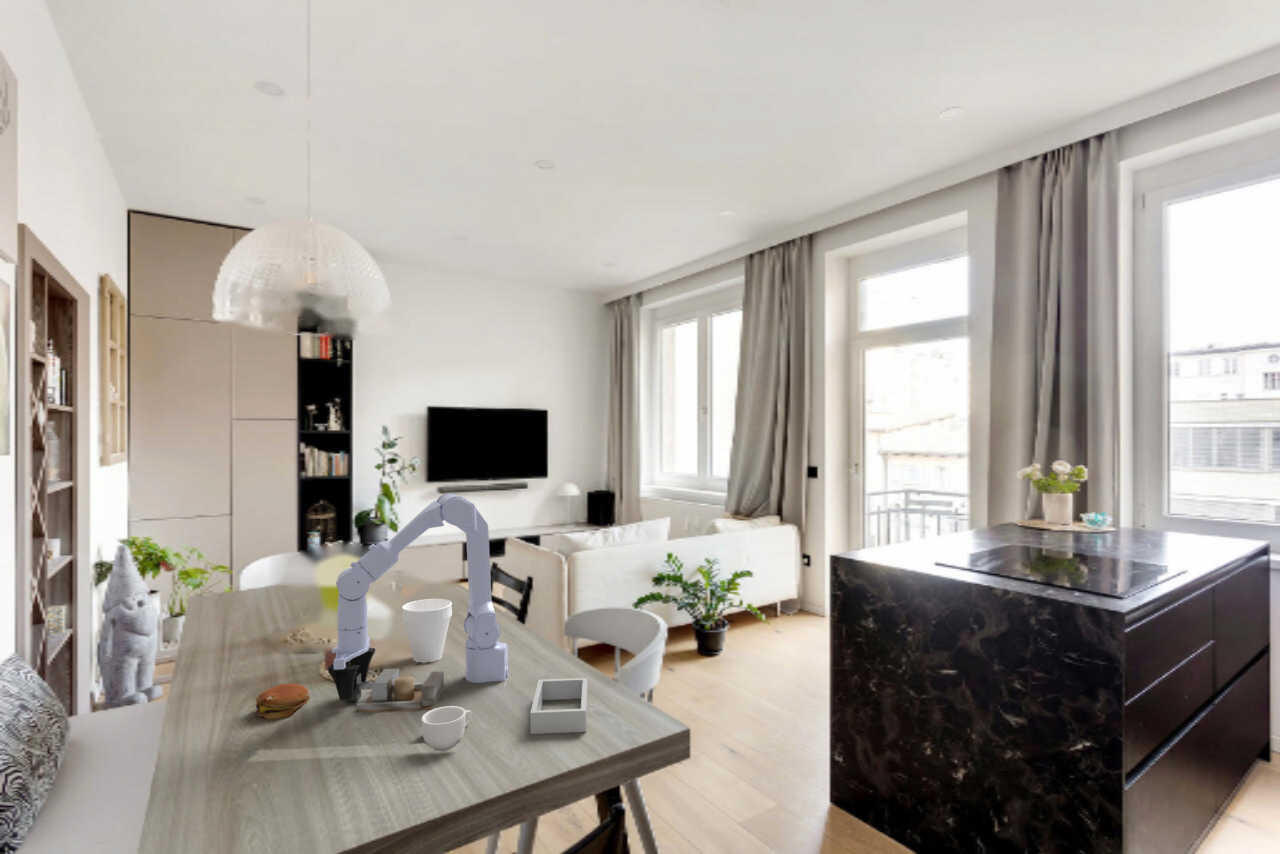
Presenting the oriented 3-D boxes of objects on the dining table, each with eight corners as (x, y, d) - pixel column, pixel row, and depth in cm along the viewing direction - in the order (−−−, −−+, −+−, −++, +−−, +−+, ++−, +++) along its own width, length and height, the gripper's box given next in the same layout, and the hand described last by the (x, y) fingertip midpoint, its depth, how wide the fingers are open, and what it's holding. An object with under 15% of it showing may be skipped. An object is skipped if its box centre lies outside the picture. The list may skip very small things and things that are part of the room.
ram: (399, 690, 139) (398, 666, 139) (386, 705, 131) (386, 680, 131) (354, 691, 138) (354, 668, 138) (339, 707, 130) (339, 682, 130)
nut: (416, 694, 137) (416, 675, 137) (411, 702, 133) (411, 682, 133) (397, 695, 137) (397, 676, 137) (391, 702, 133) (391, 683, 133)
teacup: (437, 759, 112) (437, 728, 112) (413, 746, 117) (413, 716, 117) (484, 738, 120) (484, 709, 120) (459, 726, 125) (459, 698, 125)
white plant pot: (432, 669, 156) (432, 613, 156) (391, 664, 160) (390, 609, 160) (462, 652, 167) (461, 600, 168) (422, 648, 171) (422, 597, 171)
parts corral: (587, 696, 138) (587, 677, 139) (586, 731, 122) (585, 710, 122) (538, 698, 138) (538, 679, 138) (530, 734, 121) (530, 712, 121)
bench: (445, 693, 141) (445, 667, 141) (431, 716, 129) (431, 689, 129) (376, 695, 140) (376, 670, 140) (355, 719, 128) (355, 692, 128)
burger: (315, 699, 139) (315, 677, 139) (301, 718, 130) (301, 695, 130) (265, 703, 137) (265, 682, 137) (247, 723, 128) (247, 699, 128)
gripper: (346, 617, 141) (346, 679, 141) (317, 638, 127) (317, 707, 127) (379, 616, 142) (379, 678, 142) (354, 637, 127) (354, 705, 127)
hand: (352, 691), depth 134 cm, fingers open, 7 cm apart
